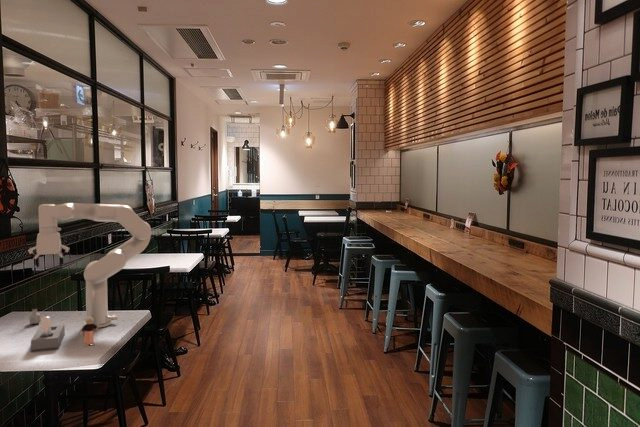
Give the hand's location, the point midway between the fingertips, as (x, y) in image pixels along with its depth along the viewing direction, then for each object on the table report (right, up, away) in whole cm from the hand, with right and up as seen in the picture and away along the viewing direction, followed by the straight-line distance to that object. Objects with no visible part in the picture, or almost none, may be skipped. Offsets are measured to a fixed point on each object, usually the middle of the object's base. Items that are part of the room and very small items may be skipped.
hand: (49, 266), depth 233 cm
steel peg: (+11, -31, -22) cm, 40 cm away
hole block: (+9, -32, -18) cm, 37 cm away
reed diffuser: (-14, -30, +10) cm, 34 cm away
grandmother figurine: (+28, -32, -19) cm, 47 cm away
